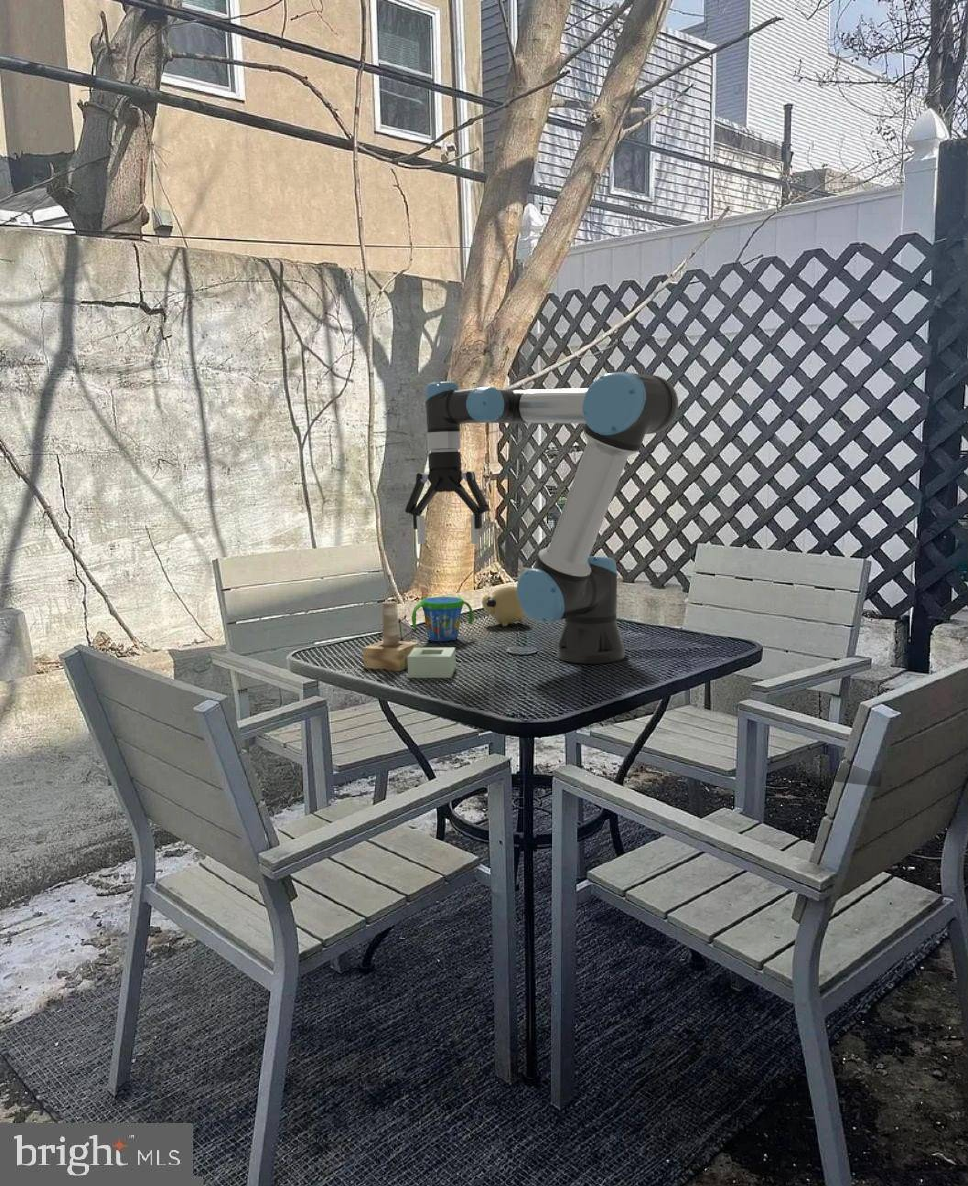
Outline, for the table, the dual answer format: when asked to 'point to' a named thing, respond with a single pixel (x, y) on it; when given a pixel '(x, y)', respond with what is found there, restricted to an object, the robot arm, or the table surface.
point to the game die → (404, 630)
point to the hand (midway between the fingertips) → (448, 543)
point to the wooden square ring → (388, 655)
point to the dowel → (390, 624)
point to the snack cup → (442, 617)
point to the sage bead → (431, 663)
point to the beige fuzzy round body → (504, 605)
